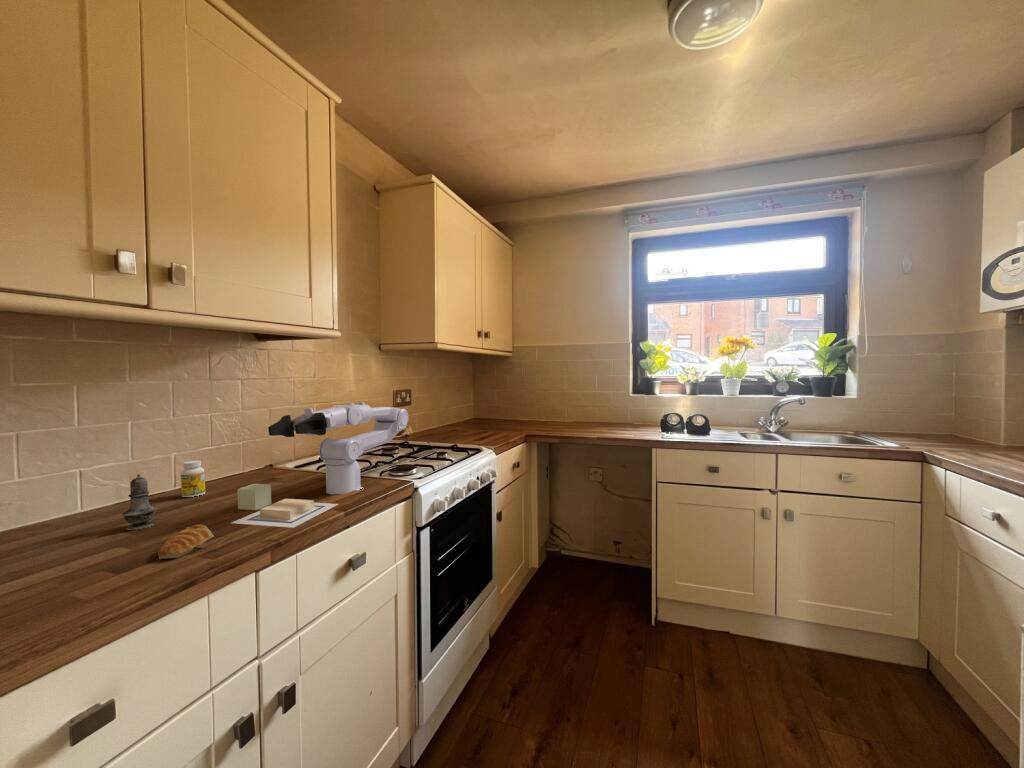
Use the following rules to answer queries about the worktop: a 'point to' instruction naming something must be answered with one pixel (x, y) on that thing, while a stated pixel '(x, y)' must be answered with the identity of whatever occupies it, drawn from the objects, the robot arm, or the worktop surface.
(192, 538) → the pastry
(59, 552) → the worktop surface
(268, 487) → the sage block
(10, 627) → the worktop surface
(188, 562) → the worktop surface
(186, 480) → the supplement bottle
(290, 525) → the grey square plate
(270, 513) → the maple plinth
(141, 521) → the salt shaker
